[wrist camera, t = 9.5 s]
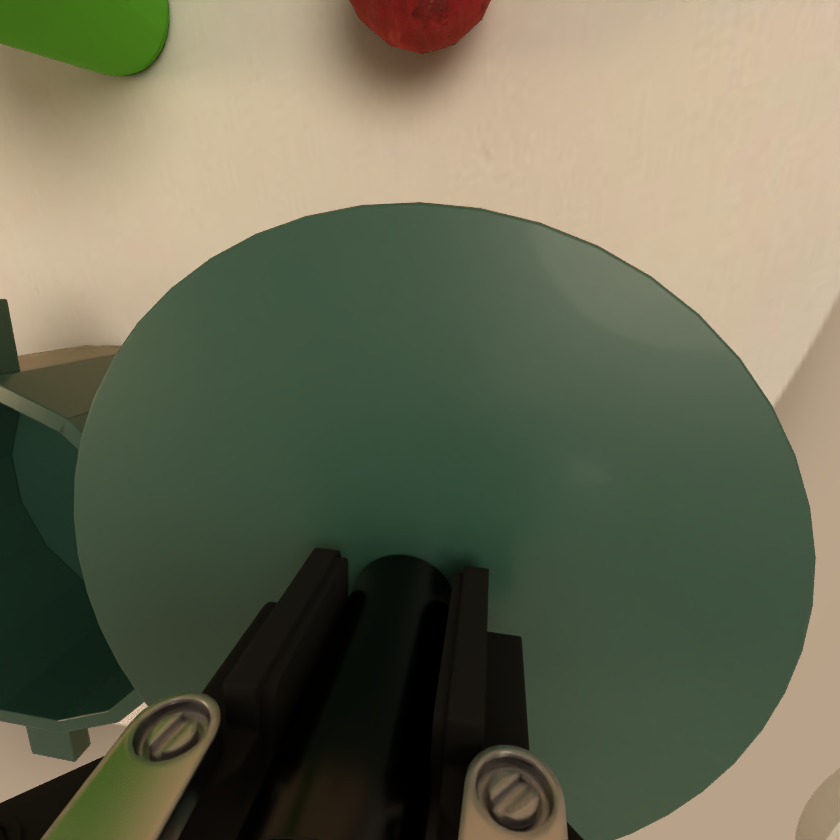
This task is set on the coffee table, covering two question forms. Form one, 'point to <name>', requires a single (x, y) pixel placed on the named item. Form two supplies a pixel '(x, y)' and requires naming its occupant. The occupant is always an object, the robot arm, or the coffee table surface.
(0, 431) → the pot
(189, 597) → the lid
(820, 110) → the coffee table surface
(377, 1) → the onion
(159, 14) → the cup
